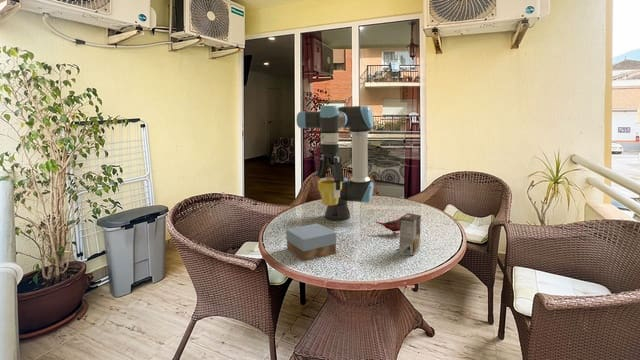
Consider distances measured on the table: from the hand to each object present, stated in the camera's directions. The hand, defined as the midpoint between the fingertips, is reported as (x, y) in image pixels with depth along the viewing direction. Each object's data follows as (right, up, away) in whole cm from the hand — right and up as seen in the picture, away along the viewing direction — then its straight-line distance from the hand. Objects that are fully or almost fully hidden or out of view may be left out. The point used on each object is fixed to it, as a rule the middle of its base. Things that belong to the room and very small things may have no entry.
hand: (329, 195), depth 148 cm
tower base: (-8, -26, +6) cm, 28 cm away
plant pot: (0, -4, +1) cm, 4 cm away
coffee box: (+35, -25, +4) cm, 44 cm away
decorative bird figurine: (+32, -21, +27) cm, 47 cm away
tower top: (-8, -21, +4) cm, 23 cm away
